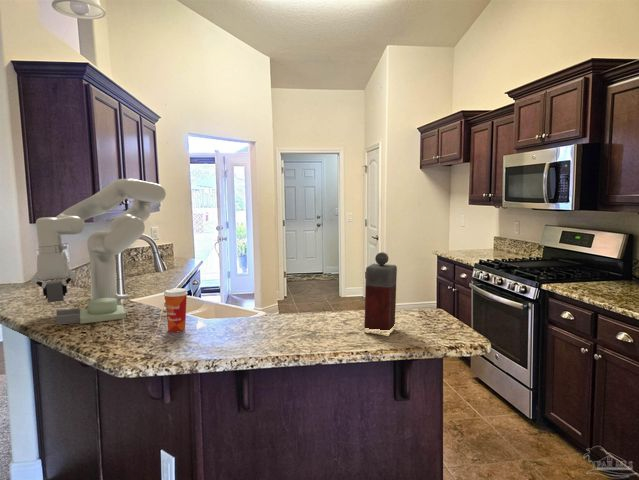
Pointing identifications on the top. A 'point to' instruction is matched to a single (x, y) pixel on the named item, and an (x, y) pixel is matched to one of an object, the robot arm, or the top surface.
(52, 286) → the grey rectangular block
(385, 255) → the square decanter
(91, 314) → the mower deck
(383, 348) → the top surface
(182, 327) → the paper cup
